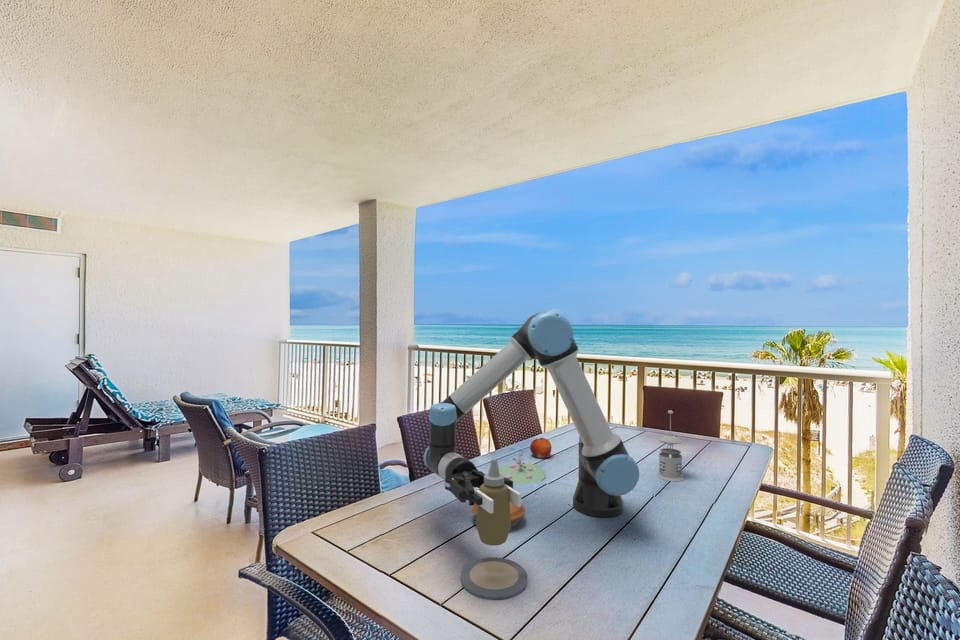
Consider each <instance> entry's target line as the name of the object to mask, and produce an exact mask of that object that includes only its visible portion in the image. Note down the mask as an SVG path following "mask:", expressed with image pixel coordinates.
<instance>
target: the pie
mask: <svg viewBox="0 0 960 640" xmlns="http://www.w3.org/2000/svg"><path fill="white" fill-rule="evenodd" d="M509 503H510V515H511V528H510V529H512V528H513V527H516V525H518V523H519V522H520V520H521V518H523V517H524V515H525V513H526V507H524V505H523V504H521V506H520V507H518V506H516V505H515V504H513V503H512V502H510V501H509ZM477 508H478V505H476V504H475V503H474V505H473V506H472V507H471V511H472V513H473V515H474V516H475V518H476V517H477Z"/></svg>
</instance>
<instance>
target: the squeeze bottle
mask: <svg viewBox="0 0 960 640" xmlns="http://www.w3.org/2000/svg"><path fill="white" fill-rule="evenodd" d="M488 472H489V473H488ZM488 472H486V473H487V474H486V473H484V474H485V475H484V483H483V484H482V485H481V486H480V488H479V489H478V490H479V491H481V492H482V493H484V494H485V495H487V496H488V497H490V498H491V499H493V500H494V501H493V513H491V514H490V513H489V512H487V511H486V510H485V509H483V508H482V507H481V506H479V505H478V508H477V517H476V516H475V518H476V519H475V527H476V529H477V533H478V537H479V540H480V541H481V542H482V543H483V544H485V545H487V546H501V545H503V544H505V543H506V542H507V539H508V537H509V533H510V530H511V529H512V528H511V515H510V503H509V492H508V487H507V486H506V485H505V484H504V475H502V474H500V473H499V464H498V459H496V458H492V459H491V461H490V466H489V469H488Z"/></svg>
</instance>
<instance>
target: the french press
mask: <svg viewBox="0 0 960 640" xmlns="http://www.w3.org/2000/svg"><path fill="white" fill-rule="evenodd" d="M667 414H669V430H670V431H669V434H670V435H664V436H661V437H659V438H658V440H659V441H660V442H661V443H664V444H667V446H669V447H666V448H665V447H664V448H661V449H660V452H659V454H658V467H659V469H658V472H657V473H656V477H657V478H658V479H661V480H664V481H669V482H683V481H685V479H686V478H685V477H684V476H683V456H682V455H681V454H682V451H681V450H679V449H676V448H673V447H674V445H681V444H682V443H683V440H682V439H680V438H679V437H676V436H674V435H672V414H674V411H673V410H671V409H670V410H669V409H668V411H667ZM670 455H671V456H670Z"/></svg>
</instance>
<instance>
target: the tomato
mask: <svg viewBox="0 0 960 640" xmlns="http://www.w3.org/2000/svg"><path fill="white" fill-rule="evenodd" d="M552 447H553V446H552V443H551V441H550V440H548V438H544V437H540V438H535V439H532V441H531V442H530V447H529V450H530V452H531V454H532V455H533V456H535V457H536V458H538V459H546V458H548V457H550V455H551V453H552Z"/></svg>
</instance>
